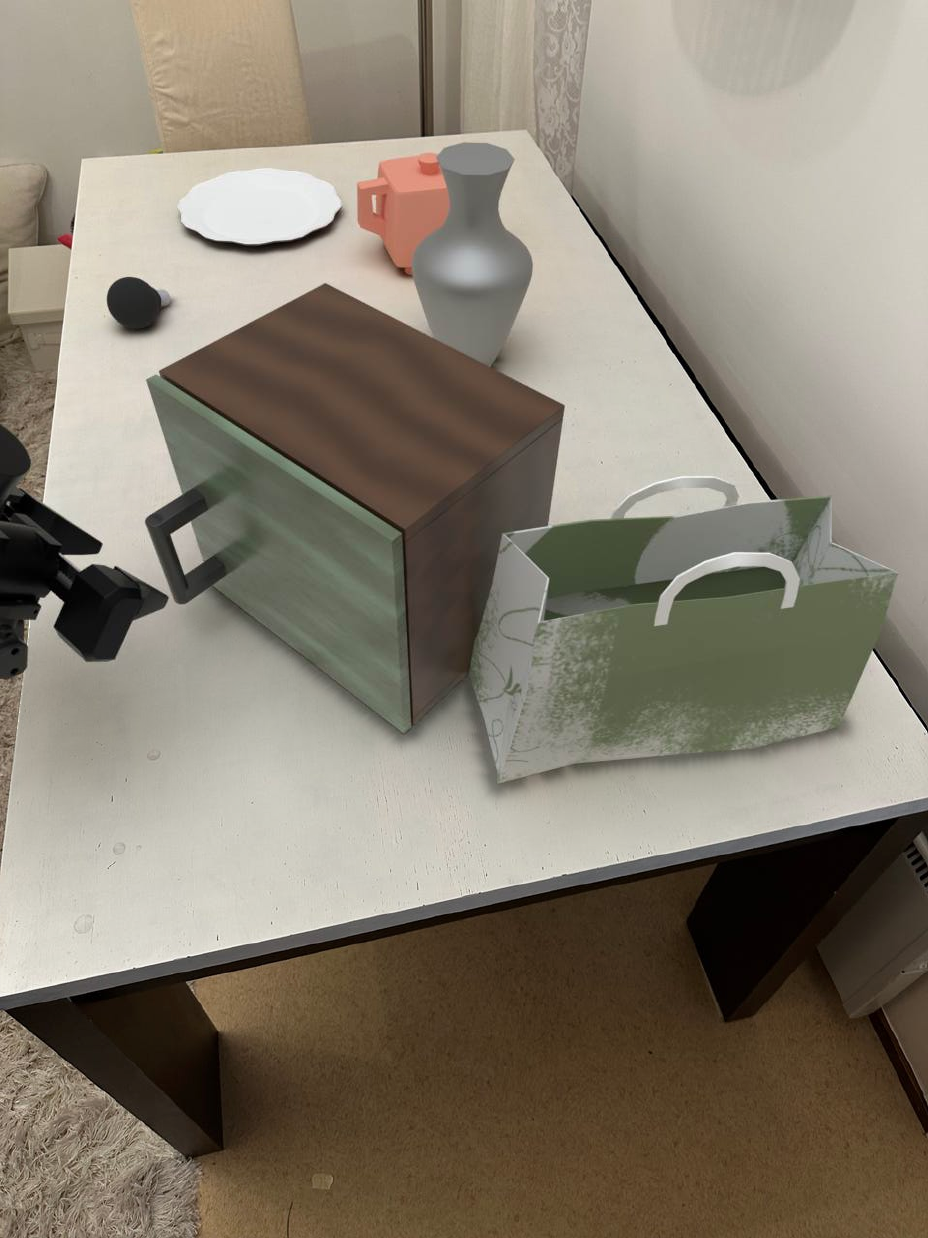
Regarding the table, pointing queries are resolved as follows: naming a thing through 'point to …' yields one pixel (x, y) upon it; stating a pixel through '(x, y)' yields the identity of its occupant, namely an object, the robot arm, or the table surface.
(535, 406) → the wooden cabinet
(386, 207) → the teapot
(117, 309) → the light bulb
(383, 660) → the green cabinet door
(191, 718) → the table surface
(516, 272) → the vase
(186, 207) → the plate
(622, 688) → the grocery bag
